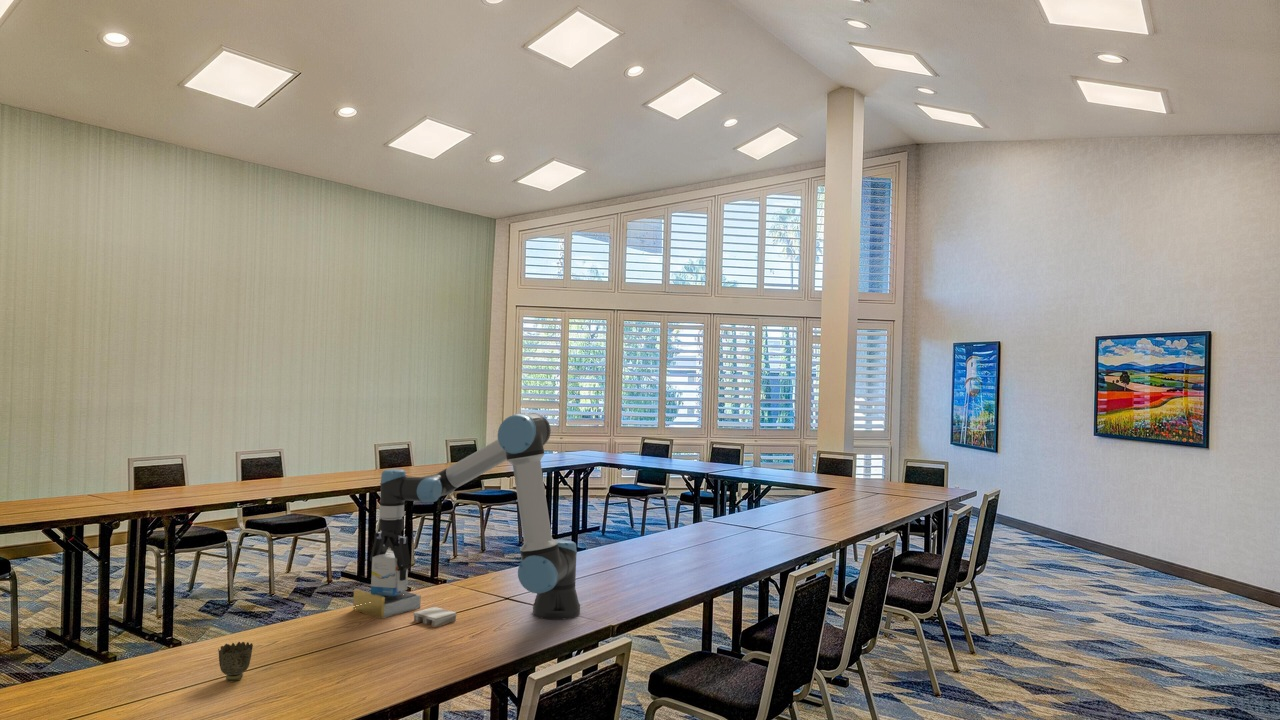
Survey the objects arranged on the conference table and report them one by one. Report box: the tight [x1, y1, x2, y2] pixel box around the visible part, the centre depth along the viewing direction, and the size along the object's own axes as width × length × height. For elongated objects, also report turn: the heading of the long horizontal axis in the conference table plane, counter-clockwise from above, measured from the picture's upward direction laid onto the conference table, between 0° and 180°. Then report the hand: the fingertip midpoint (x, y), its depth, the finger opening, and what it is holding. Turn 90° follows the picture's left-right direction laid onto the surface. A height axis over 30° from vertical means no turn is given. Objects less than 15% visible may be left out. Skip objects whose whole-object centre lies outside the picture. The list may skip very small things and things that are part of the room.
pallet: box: [413, 606, 457, 628], centre depth 237 cm, size 10×8×2 cm
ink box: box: [370, 551, 409, 596], centre depth 248 cm, size 9×8×12 cm
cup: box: [217, 641, 254, 682], centre depth 187 cm, size 8×7×8 cm
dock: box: [352, 588, 422, 619], centre depth 247 cm, size 14×15×6 cm
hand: (389, 587), depth 248 cm, fingers open, 10 cm apart
